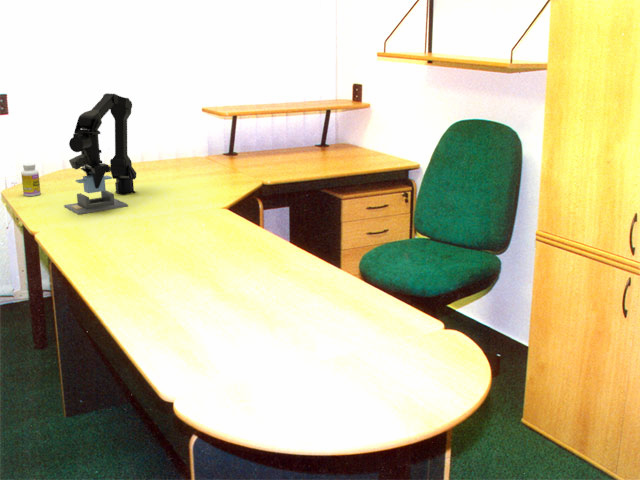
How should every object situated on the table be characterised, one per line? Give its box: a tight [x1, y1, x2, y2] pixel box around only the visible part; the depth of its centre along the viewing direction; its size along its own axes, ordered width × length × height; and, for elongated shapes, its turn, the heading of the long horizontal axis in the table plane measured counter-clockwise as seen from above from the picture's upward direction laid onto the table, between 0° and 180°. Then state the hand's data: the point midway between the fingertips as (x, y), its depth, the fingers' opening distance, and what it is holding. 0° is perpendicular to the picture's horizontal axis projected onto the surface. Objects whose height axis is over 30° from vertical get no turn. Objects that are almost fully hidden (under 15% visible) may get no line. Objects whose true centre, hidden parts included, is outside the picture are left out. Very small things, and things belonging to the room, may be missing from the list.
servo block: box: [75, 174, 113, 194], centre depth 277 cm, size 13×4×6 cm, turn 130°
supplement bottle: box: [21, 162, 41, 197], centre depth 295 cm, size 7×7×13 cm
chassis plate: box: [63, 190, 129, 216], centre depth 279 cm, size 20×14×5 cm
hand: (94, 187), depth 278 cm, fingers closed on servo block, 4 cm apart
